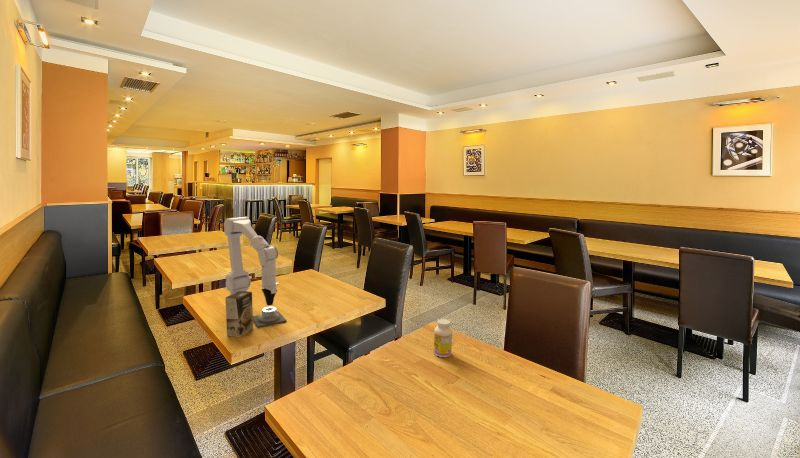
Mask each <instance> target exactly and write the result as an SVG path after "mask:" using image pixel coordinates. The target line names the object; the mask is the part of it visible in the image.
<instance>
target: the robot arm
mask: <svg viewBox="0 0 800 458" xmlns="http://www.w3.org/2000/svg"><path fill="white" fill-rule="evenodd" d="M251 222H252V221H251V220H250V218H249V217H248V216H241V217H231V218H229V217H228V218H225V220H224V222H223V229H224V236H225V237H227V244H228V245H227V246H228V252H229V262H230V269H231V270H230V272H229V273H228V274H226V276H225V288H226V290H227V292H229V296H230V295H232V294H234V293H236V292H238V291H249V288H250V286H251V285H252V283H251V282H252V281H251V278H250V275H249V272H248V271H246V270H245V269H244V264H243V255H242V254H243V253H242V248H241V246H242V245H241V239H240V238H241V236H242V235H243V234H244V235H245V236H246V238H247V239H248V240H250V245H251V247H252V248H253V249H254V250H255V251H256V252H257V256H258V260H259V264H260V266H261V267H260V268H261V288H262V289H261V292H262V294H263V296H264V299H265V303H266V306H267V307H270V306H273V305H274V300H275V296H276V294H277V292H278V289H277V286H279V285H280V283H279V282H277V275H276V274H277V271H276V269H277V268H276V266H277V265H276V263H277V262H276V260H277V259H278V258H279V250H278V249H277V247H276V246H275V245H272V244H271V245H270V244H269V243H268V242H267V241H266V239H264V237H263V236H261V235H258V234H257V232H256V231H255V230H254V228H253V227H252V223H251Z"/></svg>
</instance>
